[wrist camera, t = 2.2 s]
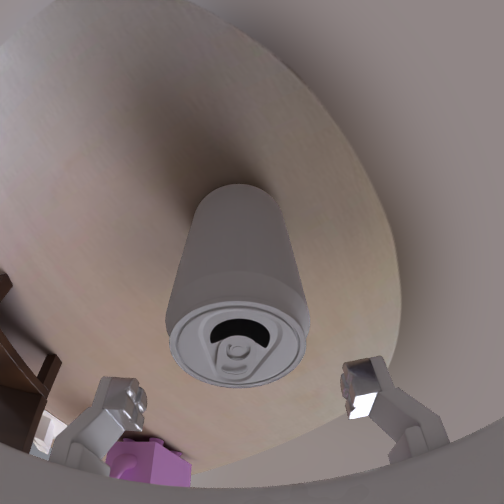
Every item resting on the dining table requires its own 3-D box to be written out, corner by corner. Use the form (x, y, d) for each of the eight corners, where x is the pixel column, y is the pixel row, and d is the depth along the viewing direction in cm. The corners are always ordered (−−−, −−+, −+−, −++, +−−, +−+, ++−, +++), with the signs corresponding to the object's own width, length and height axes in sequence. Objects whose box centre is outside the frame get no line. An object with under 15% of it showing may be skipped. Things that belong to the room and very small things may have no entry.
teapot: (198, 461, 48) (195, 517, 37) (155, 462, 50) (150, 513, 39) (136, 417, 38) (123, 491, 27) (90, 419, 40) (74, 482, 29)
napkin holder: (54, 439, 48) (49, 459, 43) (16, 412, 43) (8, 433, 38) (88, 438, 45) (82, 462, 40) (43, 408, 40) (34, 433, 35)
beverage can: (290, 186, 21) (337, 301, 11) (273, 263, 24) (293, 397, 14) (198, 174, 20) (155, 283, 10) (192, 254, 23) (163, 386, 13)
